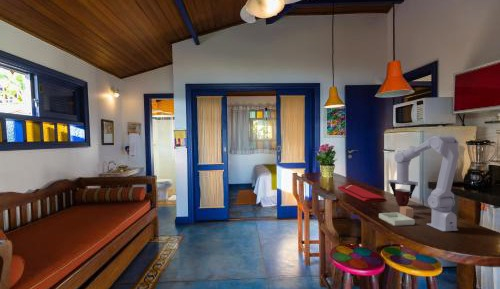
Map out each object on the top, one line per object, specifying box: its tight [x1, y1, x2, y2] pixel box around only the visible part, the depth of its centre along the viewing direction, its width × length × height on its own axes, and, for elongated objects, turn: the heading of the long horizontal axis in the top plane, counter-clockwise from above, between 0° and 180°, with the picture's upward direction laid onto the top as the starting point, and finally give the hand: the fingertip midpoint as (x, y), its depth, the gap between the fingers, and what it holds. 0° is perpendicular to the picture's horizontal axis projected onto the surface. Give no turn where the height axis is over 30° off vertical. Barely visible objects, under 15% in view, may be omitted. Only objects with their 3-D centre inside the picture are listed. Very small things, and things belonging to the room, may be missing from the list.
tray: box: [378, 211, 416, 227], centre depth 130 cm, size 12×11×2 cm
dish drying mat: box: [337, 184, 387, 203], centre depth 189 cm, size 16×41×4 cm, turn 6°
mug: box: [395, 188, 410, 207], centre depth 156 cm, size 11×8×10 cm
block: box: [399, 205, 415, 219], centre depth 137 cm, size 4×4×5 cm
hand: (402, 197), depth 143 cm, fingers open, 7 cm apart
